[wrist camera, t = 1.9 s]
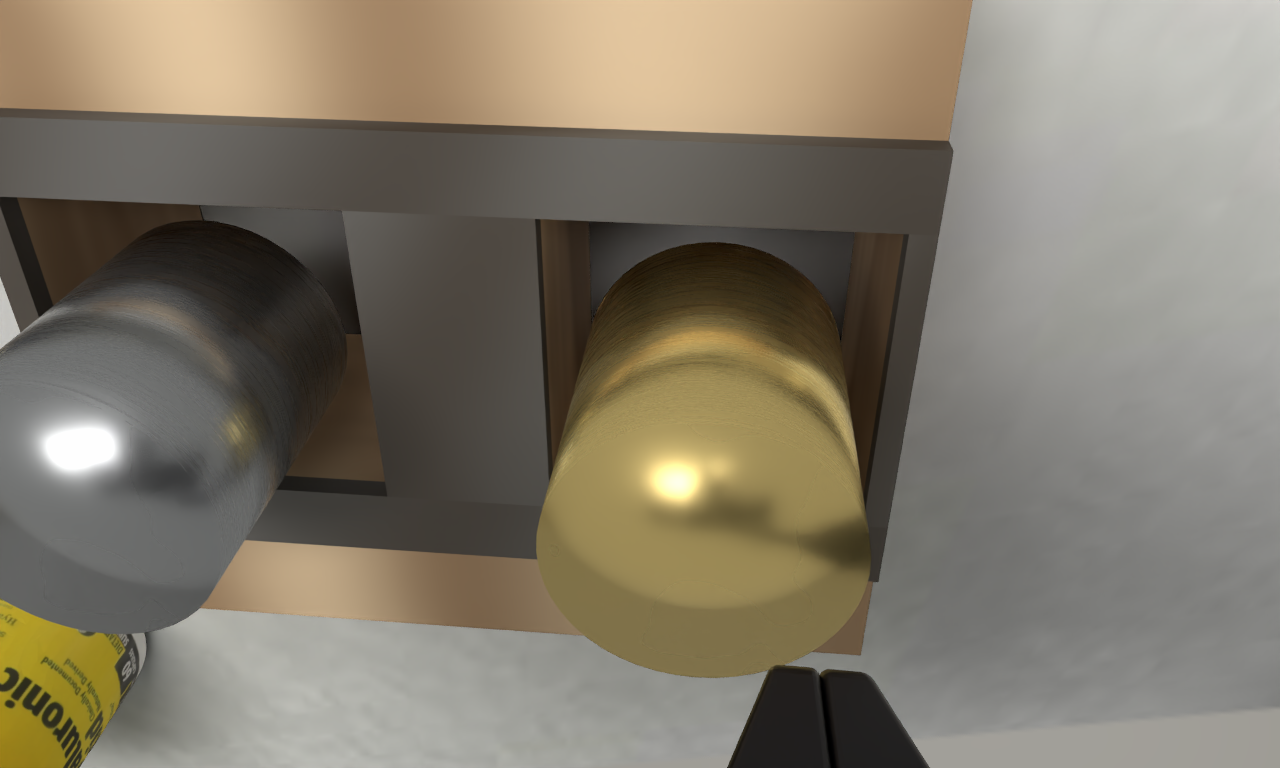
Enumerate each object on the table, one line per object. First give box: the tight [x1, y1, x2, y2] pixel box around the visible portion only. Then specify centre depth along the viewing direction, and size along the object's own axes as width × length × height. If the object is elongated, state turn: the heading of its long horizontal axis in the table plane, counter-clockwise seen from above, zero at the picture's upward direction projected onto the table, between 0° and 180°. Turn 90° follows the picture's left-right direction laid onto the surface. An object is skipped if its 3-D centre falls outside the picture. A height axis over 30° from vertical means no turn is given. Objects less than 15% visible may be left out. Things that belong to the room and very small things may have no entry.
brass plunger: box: [536, 242, 871, 678], centre depth 14 cm, size 4×4×5 cm
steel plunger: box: [0, 220, 347, 634], centre depth 15 cm, size 4×4×5 cm
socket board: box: [0, 0, 973, 655], centre depth 18 cm, size 14×12×5 cm
